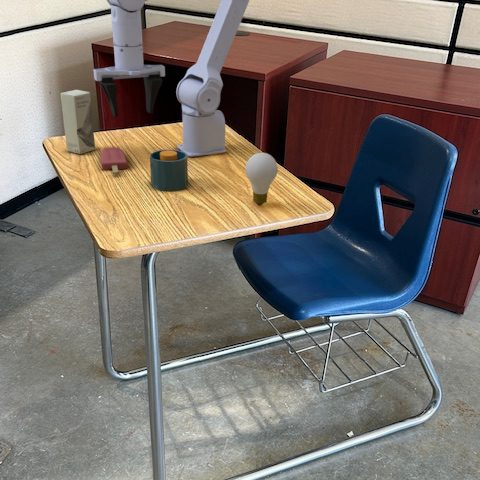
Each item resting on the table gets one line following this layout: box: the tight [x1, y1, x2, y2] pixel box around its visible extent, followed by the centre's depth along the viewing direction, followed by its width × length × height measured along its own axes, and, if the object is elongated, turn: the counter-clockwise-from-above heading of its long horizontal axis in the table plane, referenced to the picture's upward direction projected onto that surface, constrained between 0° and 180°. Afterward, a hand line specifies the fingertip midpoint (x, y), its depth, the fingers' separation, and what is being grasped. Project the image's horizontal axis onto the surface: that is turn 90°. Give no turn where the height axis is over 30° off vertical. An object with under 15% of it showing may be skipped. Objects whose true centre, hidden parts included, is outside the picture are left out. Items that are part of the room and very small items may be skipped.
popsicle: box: [100, 146, 128, 175], centre depth 132 cm, size 5×2×15 cm
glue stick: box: [160, 149, 177, 161], centre depth 121 cm, size 3×3×6 cm
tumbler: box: [149, 149, 189, 192], centre depth 122 cm, size 7×7×6 cm
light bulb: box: [245, 152, 278, 206], centre depth 113 cm, size 6×6×10 cm
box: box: [60, 89, 96, 155], centre depth 136 cm, size 5×4×13 cm
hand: (132, 113), depth 128 cm, fingers open, 7 cm apart
